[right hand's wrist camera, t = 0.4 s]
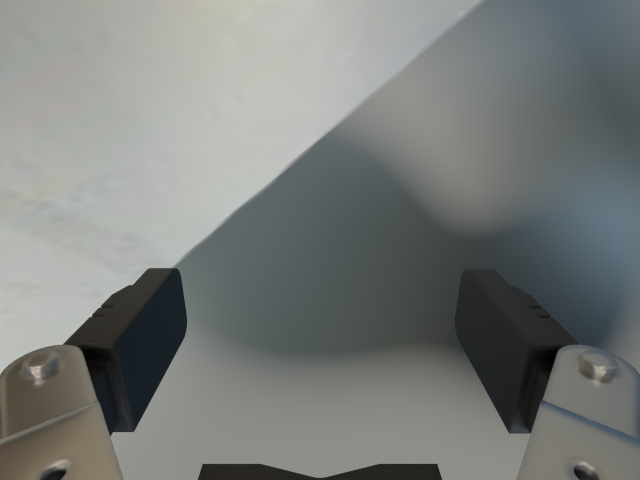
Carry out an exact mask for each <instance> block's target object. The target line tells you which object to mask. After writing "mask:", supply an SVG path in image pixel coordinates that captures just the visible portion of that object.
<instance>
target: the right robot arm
mask: <svg viewBox="0 0 640 480" xmlns="http://www.w3.org/2000/svg"><path fill="white" fill-rule="evenodd" d="M186 328H187V315H186V308H185V301H184V294H183V287H182V280H181V275H180V272H179V270H178V269H177V268H149V269H148V270H146V272H145V273H144V274H143V275H142V276H141V277H140V278H139V279H138V280H137V281H136V282H135V283H134V284H133V285H129V286H127V287H125V288H123V289H121V290H120V291H118V292H116V293H114V294H112V295H111V296H110V297H109V298H108V299H107V300H106V301H105V302H104V303H103V304H102V305H101V308H98V310H97V311H96V312H95V313H94V314H93V315H92V317H90V318H89V319H88V320H87V321H86V322H85V323H84V324H83V325H82V326H81V327H80V328H79V329H78V330H77V331H76V332H75V333H74V334H73V335H72V336H71V337H70V338H69V339H68V340H67V341H66V342H65V343H64V344H63V345H54V346H49V347H45V348H41V349H38V350H35V351H32V352H30V353H28V354H26V355H24V356H22V357H20V358H18V359H17V360H15V361H14V362H12V363H11V364H10V365H8V366H7V367H6V368H5V369H4V370H3V372H2V373H1V375H0V480H124V479H123V476H122V473H121V470H120V466H119V463H118V460H117V457H116V454H115V450H114V447H113V444H112V441H111V438H110V436H111V434H112V433H113V432H134V431H135V429H136V427H137V425H138V423H139V421H140V419H141V418H142V416H143V414H144V412H145V410H146V408H147V406H148V404H149V403H150V401H151V399H152V397H153V395H154V393H155V391H156V390H157V388H158V386H159V384H160V382H161V380H162V378H163V376H164V375H165V373H166V371H167V369H168V367H169V365H170V363H171V362H172V360H173V358H174V356H175V354H176V352H177V350H178V348H179V347H180V345H181V343H182V341H183V339H184V337H185V333H186ZM455 328H456V334H457V337H458V339H459V341H460V343H461V345H462V347H463V349H464V351H465V353H466V354H467V356H468V358H469V360H470V362H471V364H472V366H473V367H474V369H475V371H476V373H477V375H478V377H479V378H480V380H481V382H482V384H483V386H484V388H485V389H486V391H487V393H488V395H489V397H490V399H491V400H492V402H493V404H494V406H495V408H496V410H497V412H498V413H499V415H500V417H501V419H502V421H503V423H504V425H505V426H506V428H507V430H508V432H509V433H530V434H531V435H530V438H529V441H528V444H527V447H526V450H525V454H524V457H523V460H522V463H521V466H520V469H519V473H518V476H517V479H516V480H640V375H639V373H638V372H637V370H636V369H635V368H634V367H633V366H632V365H630V364H629V363H628V362H626V361H625V360H623V359H622V358H620V357H618V356H616V355H614V354H612V353H610V352H608V351H605V350H602V349H599V348H595V347H591V346H586V345H579V344H578V343H577V342H576V341H575V340H574V339H573V338H572V337H571V336H570V335H569V334H568V333H567V332H566V331H565V330H564V329H563V328H562V327H561V326H560V325H559V324H558V323H557V322H556V321H555V320H554V319H553V318H551V316H550V315H549V314H548V313H547V312H546V311H545V310H544V309H542V308H541V306H540V304H538V302H537V301H536V300H535V299H534V298H533V297H531V295H529V294H527V293H525V292H523V291H522V290H520V289H518V288H516V287H514V286H509V284H508V283H507V282H506V281H505V280H504V279H503V278H502V277H501V276H500V275H499V274H498V273H497V272H496V271H495V270H494V269H465V270H464V271H463V273H462V276H461V282H460V289H459V295H458V302H457V309H456V316H455ZM198 480H442V478H441V475H440V472H439V468H438V465H437V464H378V465H374V466H370V467H366V468H362V469H358V470H354V471H350V472H346V473H342V474H338V475H334V476H330V477H325V478H315V477H310V476H306V475H302V474H298V473H294V472H290V471H286V470H282V469H278V468H274V467H270V466H266V465H262V464H203V465H202V468H201V472H200V475H199V478H198Z"/></svg>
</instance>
